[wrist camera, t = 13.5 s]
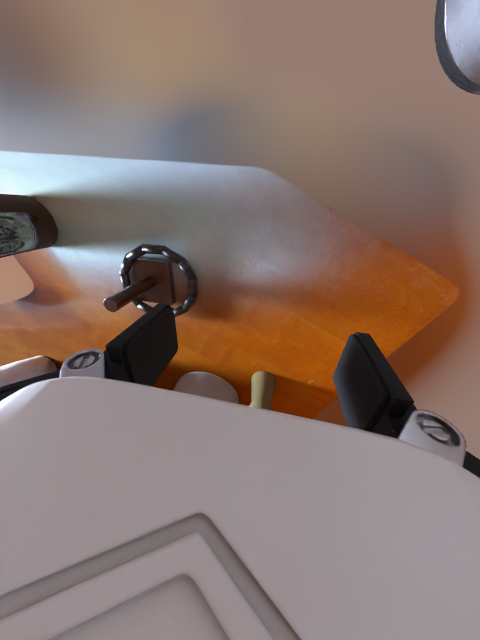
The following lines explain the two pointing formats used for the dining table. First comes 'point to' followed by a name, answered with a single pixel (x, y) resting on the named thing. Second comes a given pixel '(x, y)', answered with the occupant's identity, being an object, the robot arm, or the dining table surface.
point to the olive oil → (24, 225)
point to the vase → (25, 369)
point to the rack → (145, 284)
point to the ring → (172, 256)
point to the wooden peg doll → (262, 390)
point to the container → (206, 386)
